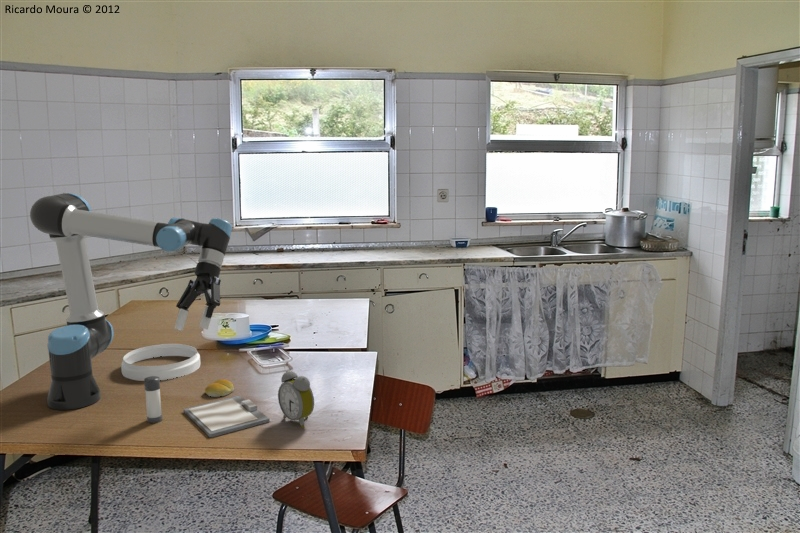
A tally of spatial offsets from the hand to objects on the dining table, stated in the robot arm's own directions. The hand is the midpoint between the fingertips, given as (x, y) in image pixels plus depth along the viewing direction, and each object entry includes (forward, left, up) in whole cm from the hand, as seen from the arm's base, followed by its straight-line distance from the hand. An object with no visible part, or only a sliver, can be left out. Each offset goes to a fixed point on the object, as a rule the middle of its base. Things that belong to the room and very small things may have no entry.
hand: (190, 328), depth 202 cm
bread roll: (-5, +10, -25) cm, 27 cm away
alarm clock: (+31, +20, -25) cm, 45 cm away
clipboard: (+15, +4, -25) cm, 29 cm away
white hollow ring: (-40, +2, -25) cm, 47 cm away
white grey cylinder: (+5, -14, -25) cm, 29 cm away
